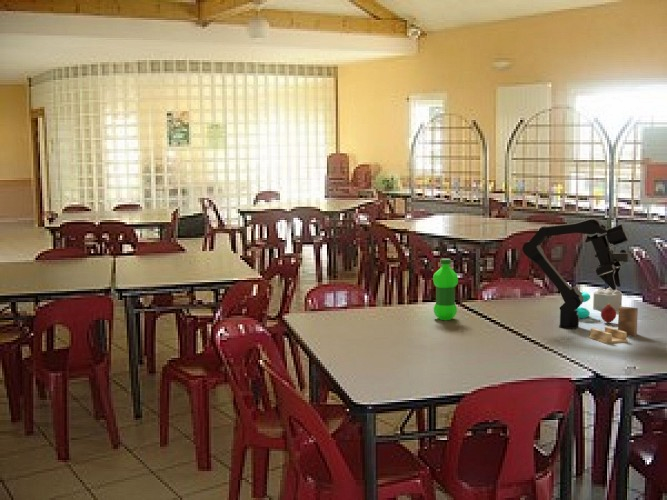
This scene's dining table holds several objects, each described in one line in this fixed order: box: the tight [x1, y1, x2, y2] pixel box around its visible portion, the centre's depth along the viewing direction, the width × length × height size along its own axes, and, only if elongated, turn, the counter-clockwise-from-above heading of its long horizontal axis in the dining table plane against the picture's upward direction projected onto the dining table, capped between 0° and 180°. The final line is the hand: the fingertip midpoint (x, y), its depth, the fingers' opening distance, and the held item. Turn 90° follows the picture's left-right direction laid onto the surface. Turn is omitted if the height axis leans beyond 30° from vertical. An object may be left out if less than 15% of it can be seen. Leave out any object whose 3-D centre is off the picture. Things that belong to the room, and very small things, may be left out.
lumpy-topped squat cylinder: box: [592, 287, 623, 312], centre depth 347 cm, size 10×13×9 cm
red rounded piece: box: [600, 304, 617, 324], centre depth 318 cm, size 6×6×8 cm
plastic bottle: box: [432, 257, 459, 321], centre depth 327 cm, size 10×10×25 cm
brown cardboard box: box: [617, 306, 639, 337], centre depth 299 cm, size 6×4×10 cm, turn 54°
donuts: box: [575, 291, 591, 319], centre depth 331 cm, size 10×10×10 cm
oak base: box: [588, 326, 629, 345], centre depth 291 cm, size 10×9×4 cm
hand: (617, 288), depth 302 cm, fingers open, 9 cm apart
